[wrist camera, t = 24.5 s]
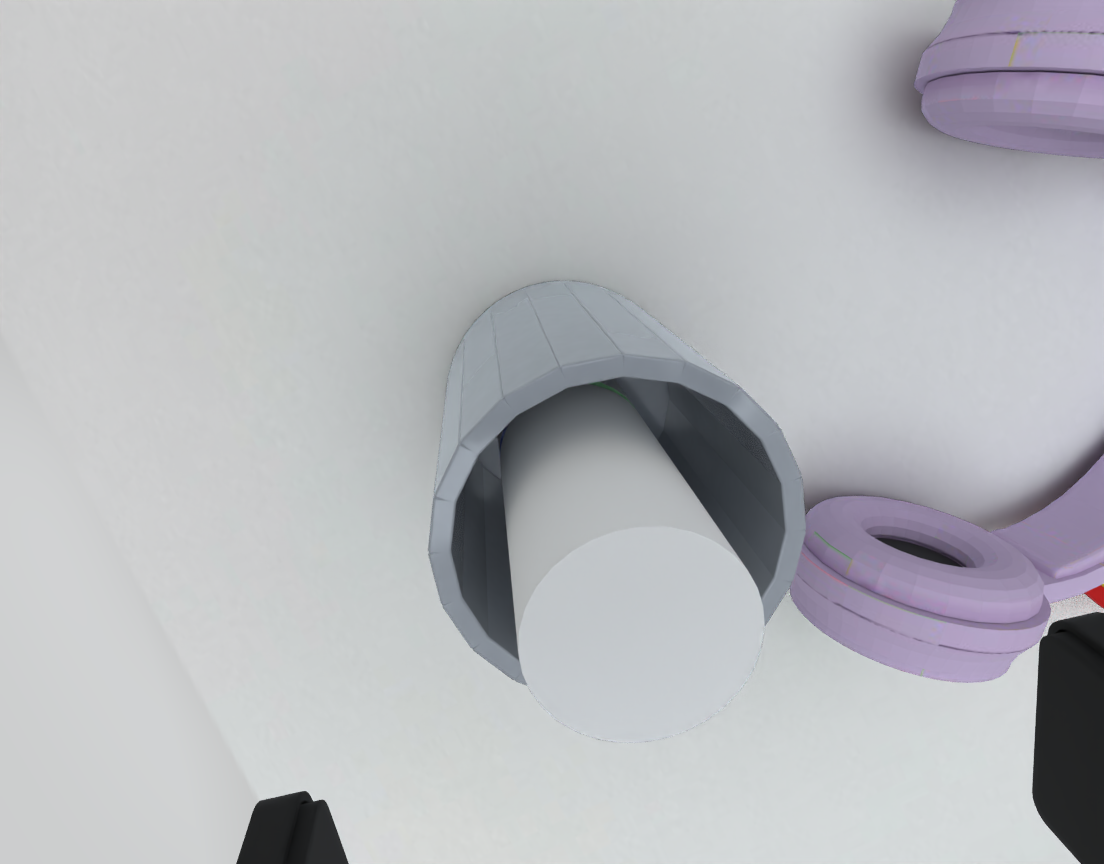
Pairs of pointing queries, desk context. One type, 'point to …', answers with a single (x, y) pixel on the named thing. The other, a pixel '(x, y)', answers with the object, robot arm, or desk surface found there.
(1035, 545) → the headphones
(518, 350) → the pen holder
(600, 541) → the tube
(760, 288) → the desk surface
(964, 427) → the desk surface
